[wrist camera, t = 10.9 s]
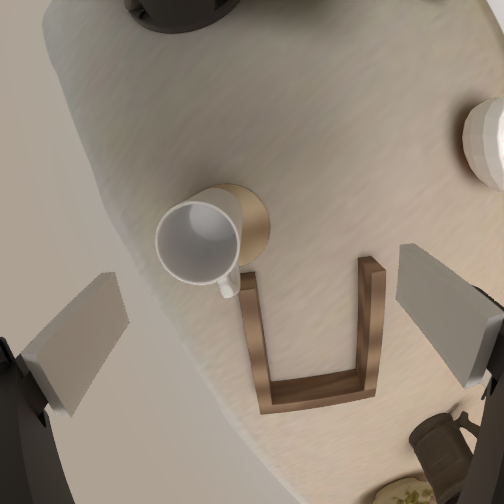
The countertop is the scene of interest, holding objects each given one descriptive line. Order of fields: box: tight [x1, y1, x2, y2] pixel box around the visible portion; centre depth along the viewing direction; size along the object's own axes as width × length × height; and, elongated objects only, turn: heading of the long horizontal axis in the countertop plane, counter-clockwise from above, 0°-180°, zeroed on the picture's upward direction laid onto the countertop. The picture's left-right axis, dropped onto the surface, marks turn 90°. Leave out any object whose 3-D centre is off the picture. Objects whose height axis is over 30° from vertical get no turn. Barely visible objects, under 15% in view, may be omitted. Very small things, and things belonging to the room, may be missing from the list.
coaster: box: [208, 184, 270, 267], centre depth 36 cm, size 10×10×1 cm
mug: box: [155, 188, 243, 299], centre depth 30 cm, size 10×7×12 cm, turn 25°
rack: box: [239, 256, 386, 415], centre depth 38 cm, size 20×17×5 cm
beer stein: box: [409, 411, 480, 504], centre depth 39 cm, size 15×11×20 cm
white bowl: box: [462, 97, 504, 193], centre depth 27 cm, size 12×12×10 cm
